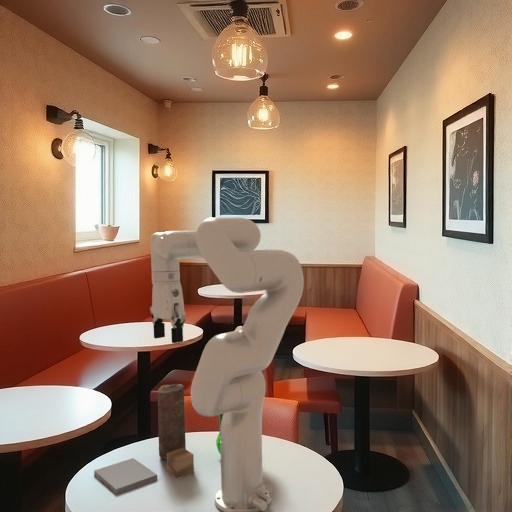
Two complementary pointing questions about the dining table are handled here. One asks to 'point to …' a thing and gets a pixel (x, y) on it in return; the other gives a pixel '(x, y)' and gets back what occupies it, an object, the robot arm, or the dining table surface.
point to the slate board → (125, 475)
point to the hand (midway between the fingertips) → (168, 339)
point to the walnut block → (180, 463)
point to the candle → (171, 419)
